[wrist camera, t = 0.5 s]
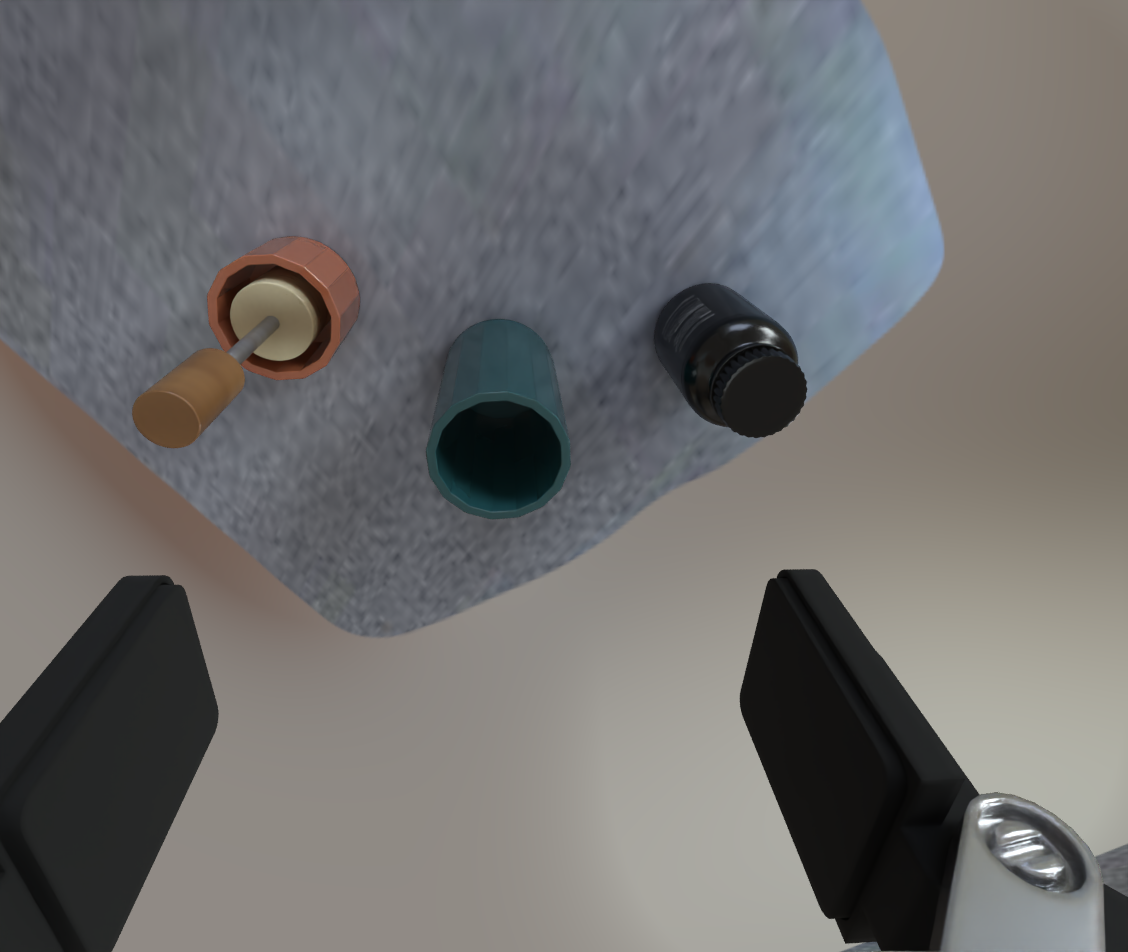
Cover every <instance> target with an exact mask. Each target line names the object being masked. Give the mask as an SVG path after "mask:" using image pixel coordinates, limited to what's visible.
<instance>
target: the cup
mask: <svg viewBox="0 0 1128 952" xmlns="http://www.w3.org/2000/svg"><path fill="white" fill-rule="evenodd" d="M426 457H427V463H428V470H429V475H430V478H431V479H432V481H433V482H434V484H435V485H436V487H437V488H438V490H439V491H440V493H441V494H442V496H443V497H444V498H445V499H446V500H448V501H449V502H451V503H452V504H454V505H455V506H457V507H458V508H459V509H461V510H462V511H464V512H466V513H469V514H473V515H476V516H480V517H484V518H488V519H505V518H517V517H521V516H523V515H525V514H528V513H530V512H532V511H534V510H537V509H539V508H541V507H543V506H544V505H545V504H546V503H547V502H548V501H549V500H550V499H551V498H552V497H553V496H555V495H556V494H557V493H558V492H559V491H560V490H561V488H562V486H563V483H564V481H565V478H566V476H567V474H568V471H569V469H570V465H571V457H570V440H569V435H568V430H567V425H566V420H565V415H564V410H563V405H562V400H561V395H560V391H559V386H558V381H557V376H556V371H555V366H554V362H553V359H552V357H551V354H550V352H549V349H548V347H547V346H546V344H545V343H544V341H543V340H542V339H541V337H540V336H539V335H538V334H537V333H535V332H534V331H533V330H532V329H530V328H528V327H527V326H525V325H523V324H521V323H518V322H515V321H511V320H505V319H492V320H486V321H483V322H480V323H477V324H475V325H473V326H471V327H469V328H468V329H466V330H465V331H464V332H463V333H462V334H461V335H460V336H459V337H458V338H457V339H456V340H455V342H454V343H453V345H452V347H451V348H450V350H449V354H448V357H447V361H446V364H445V367H444V372H443V376H442V380H441V385H440V389H439V394H438V398H437V403H436V407H435V411H434V416H433V420H432V425H431V429H430V434H429V438H428V442H427V447H426Z"/></svg>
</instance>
